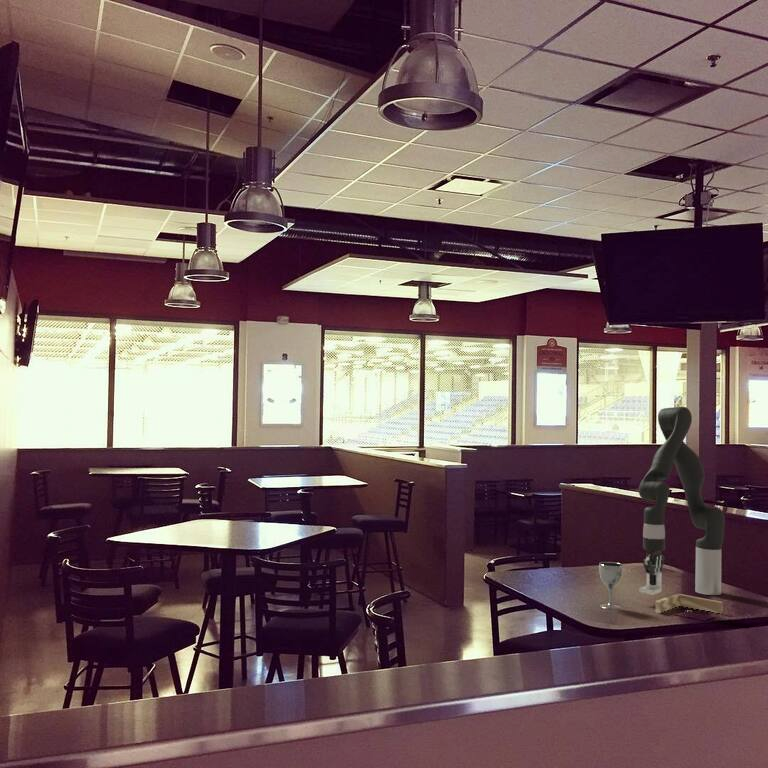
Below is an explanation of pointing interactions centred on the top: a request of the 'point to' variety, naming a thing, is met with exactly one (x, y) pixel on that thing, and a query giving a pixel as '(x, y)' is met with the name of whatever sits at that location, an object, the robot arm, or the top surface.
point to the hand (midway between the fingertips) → (653, 584)
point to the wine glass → (610, 579)
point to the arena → (688, 603)
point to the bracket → (652, 588)
